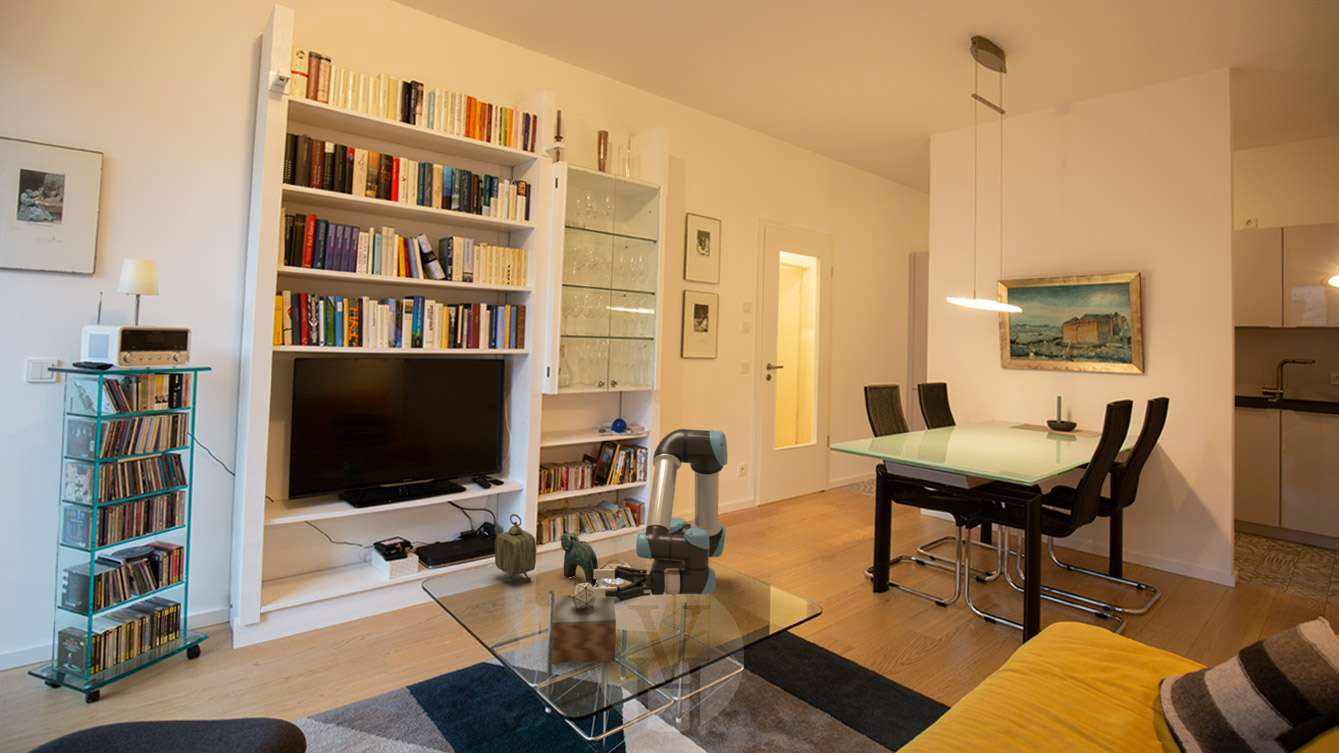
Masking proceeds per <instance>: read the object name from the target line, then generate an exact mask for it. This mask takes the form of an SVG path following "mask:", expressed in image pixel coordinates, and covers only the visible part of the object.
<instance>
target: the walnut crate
mask: <svg viewBox="0 0 1339 753" xmlns="http://www.w3.org/2000/svg"><path fill="white" fill-rule="evenodd" d="M568 596H571V595H565V594H564V595H555V596H554V604H553V606H554V607H553V614H552V622H551V636H552V637H551V664H562V663H564V664H566V663H585V662H587V663H588V662H614V661H616V634H617V633H616V631H617V626H616V625H617V618H616V617H617V616H616V608H615V597H601V598H595V601H594V603H593V606H592V607H593V609H592V608H591V607H589V608H581V609H578V610H577V611H576V609H577V608H576V606H575V604H574V602H573V600H572V599H571V597H570V598H569V597H568Z"/></svg>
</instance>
